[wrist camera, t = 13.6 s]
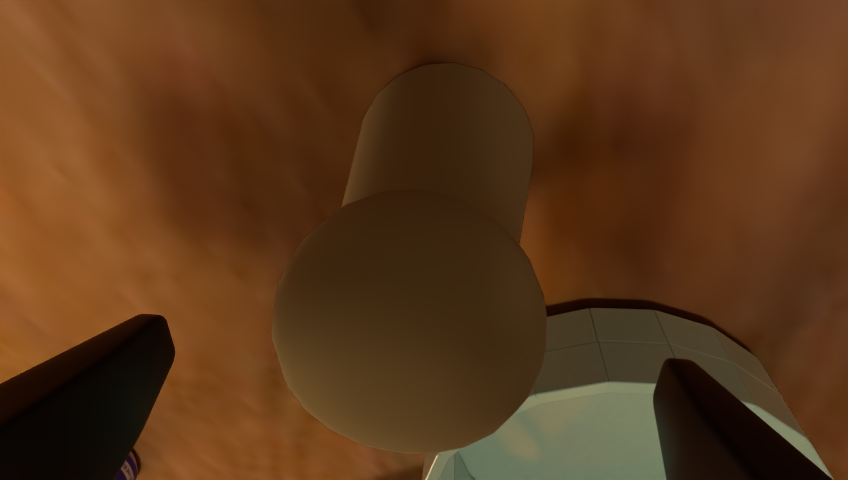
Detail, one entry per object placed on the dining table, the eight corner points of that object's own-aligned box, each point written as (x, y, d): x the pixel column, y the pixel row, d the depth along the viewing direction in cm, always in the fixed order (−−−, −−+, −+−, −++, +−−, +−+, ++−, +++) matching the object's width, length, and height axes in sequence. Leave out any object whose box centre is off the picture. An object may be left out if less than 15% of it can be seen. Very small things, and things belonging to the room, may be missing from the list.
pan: (373, 440, 26) (353, 528, 22) (582, 230, 19) (606, 306, 15) (602, 560, 29) (619, 656, 25) (855, 418, 22) (932, 521, 18)
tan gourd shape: (549, 70, 16) (627, 257, 7) (519, 237, 20) (547, 523, 10) (358, 54, 17) (189, 210, 7) (359, 220, 20) (240, 480, 10)
